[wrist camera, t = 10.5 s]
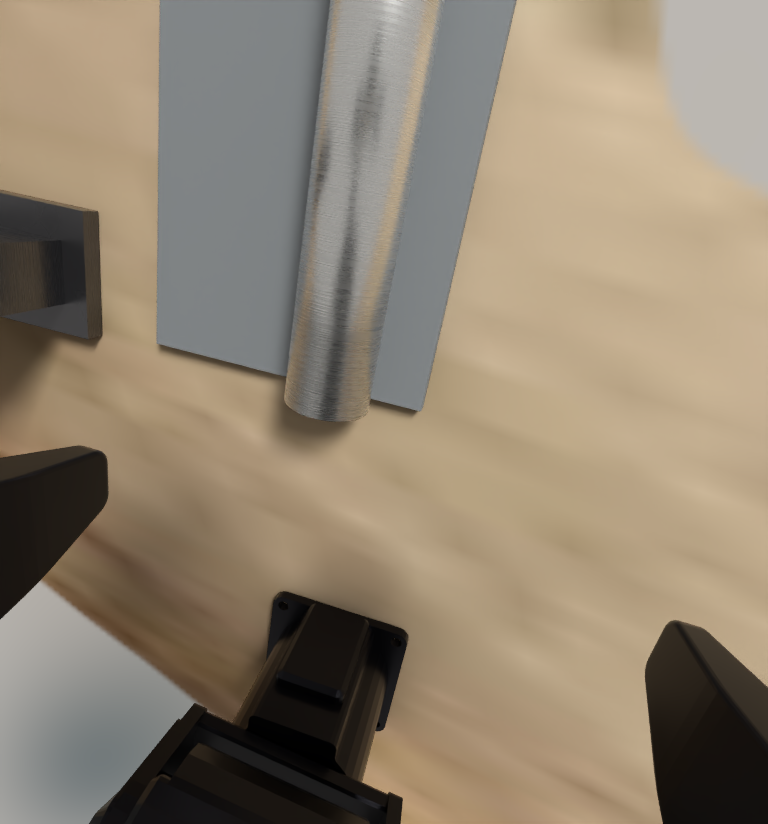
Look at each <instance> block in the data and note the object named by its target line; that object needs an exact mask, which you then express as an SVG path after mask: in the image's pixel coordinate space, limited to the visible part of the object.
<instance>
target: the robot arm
mask: <svg viewBox="0 0 768 824" xmlns="http://www.w3.org/2000/svg"><path fill="white" fill-rule="evenodd" d="M107 499H108V462H107V458H106V455H105V454H104V453H103V452H101V451H99V450H95V449H92V448H88V447H85V446H72V447H66V448H60V449H53V450H47V451H41V452H34V453H28V454H22V455H16V456H9V457H3V458H0V619H1V618H2V617H3V616H4V615H5V614H6V613H8V612H9V611H10V610H11V609H12V608H13V607H14V606H15V605H16V604H17V603H18V602H19V601H20V600H21V599H22V598H23V597H24V596H25V595H26V594H27V593H28V592H29V591H30V590H31V589H32V588H33V587H34V586H35V585H36V584H37V583H38V582H39V581H40V580H41V579H42V578H43V577H44V576H45V575H46V574H47V572H48V571H49V570H50V569H51V568H52V567H53V566H54V565H55V563H56V562H57V561H58V560H59V559H60V558H61V557H62V555H63V554H64V553H65V552H66V551H67V550H68V548H69V547H70V546H71V545H72V544H73V543H74V542H75V540H76V539H77V538H78V537H79V536H80V535H81V534H82V532H83V531H84V530H85V529H86V528H87V527H88V525H89V524H90V523H91V522H92V521H93V520H94V519H95V517H96V516H97V515H98V514H99V513H100V512H101V510H102V509H103V508H104V506H105V504H106V502H107ZM283 602H285V603H287V604H285V603H283ZM394 638H397V639H399V640H396V639H394ZM407 643H408V634H407V633H406V632H405V631H404V630H403V629H401V628H399V627H395V626H392V625H389V624H386V623H383V622H380V621H377V620H374V619H370V618H367V617H364V616H361V615H358V614H355V613H352V612H348V611H345V610H342V609H339V608H336V607H333V606H330V605H327V604H323V603H320V602H317V601H314V600H311V599H308V598H305V597H302V596H298V595H295V594H292V593H289V592H280V593H279V594H278V595H277V597H276V599H275V600H274V603H273V611H272V619H271V626H270V634H269V642H268V650H267V658H266V663H265V664H264V666H263V668H262V670H261V672H260V674H259V675H258V677H257V679H256V681H255V683H254V685H253V686H252V688H251V690H250V692H249V694H248V695H247V697H246V699H245V701H244V703H243V705H242V706H241V708H240V710H239V712H238V714H237V716H236V717H235V719H234V721H233V723H231V722H229V721H226V720H224V719H222V718H220V717H218V716H216V715H213V714H211V713H209V712H207V708H205V707H202V706H200V705H198V704H196V703H194V704H193V706H192V707H191V708H190V709H189V710H188V712H187V713H186V714H185V715H184V717H183V718H182V719H181V720H180V719H178V720H177V721H176V722H175V723H174V725H173V726H172V727H171V728H170V729H169V731H168V732H167V733H166V734H165V736H164V737H163V738H162V739H161V741H160V742H159V743H158V744H157V746H156V747H155V748H154V749H153V750H152V752H151V753H150V754H149V755H148V757H147V758H146V759H145V760H144V761H143V763H142V764H141V765H140V767H139V768H138V769H137V770H136V771H135V773H134V774H133V775H132V776H131V777H130V779H129V780H128V781H127V782H126V784H125V785H124V786H123V787H122V788H121V790H120V791H119V792H118V793H117V794H116V795H114V796H113V797H112V798H111V799H110V800H109V801H108V802H107V803H106V804H105V805H104V806H103V807H102V808H101V809H100V810H98V812H97V813H96V814H95V815H94V817H93V818H92V820H91V821H90V823H89V824H400V823H401V812H402V801H403V798H402V797H399V796H397V795H395V794H393V793H391V792H389V793H388V794H386V793H384V792H382V791H379V790H377V789H375V788H373V787H371V786H369V785H366V784H364V783H362V780H363V776H364V773H365V769H366V765H367V761H368V757H369V753H370V750H371V746H372V742H373V738H374V734H375V731H381V730H383V729H384V728H385V724H386V721H387V717H388V713H389V710H390V706H391V702H392V699H393V695H394V691H395V687H396V684H397V680H398V676H399V673H400V669H401V665H402V661H403V658H404V654H405V650H406V647H407ZM645 683H646V693H647V703H648V713H649V723H650V733H651V743H652V753H653V763H654V773H655V781H656V788H657V795H658V800H659V806H660V811H661V816H662V821H663V824H768V687H767V686H766V685H765V684H763V683H762V682H761V681H760V680H759V679H758V678H757V677H756V676H755V675H754V674H753V673H752V672H751V671H749V670H748V669H747V668H746V667H745V666H744V665H743V664H742V663H741V662H740V661H739V660H738V659H737V658H735V657H734V656H733V655H732V654H731V653H730V652H729V651H728V650H727V649H726V648H725V647H724V646H722V645H721V644H720V643H719V642H718V641H717V640H716V639H715V638H714V637H713V636H712V635H711V634H710V633H708V632H707V631H706V630H705V629H703V628H701V627H698V626H695V625H691V624H688V623H685V622H681V621H678V620H674V621H670V622H669V623H668V624H667V625H666V626H665V628H664V630H663V632H662V634H661V635H660V637H659V639H658V641H657V643H656V645H655V647H654V649H653V651H652V653H651V655H650V657H649V659H648V661H647V664H646V669H645Z"/></svg>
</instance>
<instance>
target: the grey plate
mask: <svg viewBox="0 0 768 824" xmlns="http://www.w3.org/2000/svg"><path fill="white" fill-rule="evenodd" d="M516 1H517V0H445V3H444V8H443V14H442V19H441V24H440V30H439V35H438V40H437V46H436V51H435V56H434V62H433V67H432V72H431V78H430V83H429V88H428V94H427V99H426V104H425V110H424V115H423V120H422V126H421V131H420V136H419V142H418V147H417V152H416V158H415V163H414V169H413V174H412V179H411V185H410V190H409V195H408V201H407V206H406V211H405V217H404V222H403V227H402V233H401V238H400V243H399V249H398V254H397V259H396V265H395V270H394V275H393V281H392V286H391V291H390V297H389V302H388V307H387V313H386V318H385V323H384V329H383V334H382V339H381V345H380V350H379V355H378V361H377V366H376V371H375V377H374V382H373V388H372V393H371V398H370V399H374V400H378V401H382V402H386V403H390V404H393V405H397V406H401V407H405V408H409V409H413V410H417V411H421V410H422V408H423V405H424V401H425V396H426V392H427V388H428V383H429V379H430V374H431V370H432V366H433V361H434V357H435V353H436V348H437V344H438V340H439V335H440V331H441V327H442V322H443V318H444V314H445V309H446V305H447V301H448V296H449V292H450V288H451V283H452V279H453V274H454V270H455V266H456V261H457V257H458V253H459V248H460V244H461V240H462V235H463V231H464V227H465V222H466V218H467V214H468V209H469V205H470V201H471V196H472V192H473V188H474V183H475V179H476V174H477V170H478V166H479V161H480V157H481V153H482V148H483V144H484V140H485V135H486V131H487V127H488V122H489V118H490V114H491V109H492V105H493V101H494V96H495V92H496V88H497V83H498V79H499V74H500V70H501V66H502V61H503V57H504V53H505V48H506V44H507V40H508V35H509V31H510V27H511V22H512V18H513V14H514V9H515V5H516ZM329 8H330V0H160V44H159V149H158V254H157V344H160V345H164V346H168V347H172V348H176V349H180V350H184V351H188V352H192V353H195V354H199V355H203V356H207V357H211V358H215V359H219V360H223V361H227V362H230V363H234V364H238V365H242V366H246V367H250V368H254V369H258V370H261V371H265V372H269V373H273V374H277V375H281V376H285V377H287V369H288V360H289V351H290V343H291V334H292V326H293V317H294V308H295V300H296V291H297V283H298V274H299V265H300V257H301V248H302V240H303V231H304V222H305V214H306V205H307V197H308V188H309V179H310V171H311V162H312V154H313V145H314V137H315V128H316V119H317V111H318V102H319V94H320V85H321V76H322V68H323V59H324V51H325V42H326V33H327V25H328V16H329Z"/></svg>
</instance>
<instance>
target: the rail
mask: <svg viewBox="0 0 768 824" xmlns="http://www.w3.org/2000/svg"><path fill="white" fill-rule="evenodd" d="M444 3H445V0H330V8H329V16H328V25H327V33H326V42H325V51H324V59H323V68H322V76H321V85H320V94H319V102H318V111H317V119H316V128H315V137H314V145H313V154H312V162H311V171H310V179H309V188H308V197H307V205H306V214H305V222H304V231H303V240H302V248H301V257H300V265H299V274H298V283H297V291H296V300H295V308H294V317H293V326H292V334H291V343H290V351H289V360H288V369H287V377H286V386H285V394H284V401H285V403H286V405H287V406H288V407H289V408H290V409H292V410H293V411H295V412H297V413H299V414H301V415H304V416H307V417H310V418H313V419H318V420H323V421H332V422H346V421H353V420H357V419H360V418H362V417H364V416H365V415H366V414H367V413H368V409H369V404H370V398H371V393H372V388H373V382H374V377H375V371H376V366H377V361H378V355H379V350H380V345H381V339H382V334H383V329H384V323H385V318H386V313H387V307H388V302H389V297H390V291H391V286H392V281H393V275H394V270H395V265H396V259H397V254H398V249H399V243H400V238H401V233H402V227H403V222H404V217H405V211H406V206H407V201H408V195H409V190H410V185H411V179H412V174H413V169H414V163H415V158H416V152H417V147H418V142H419V136H420V131H421V126H422V120H423V115H424V110H425V104H426V99H427V94H428V88H429V83H430V78H431V72H432V67H433V62H434V56H435V51H436V46H437V40H438V35H439V30H440V24H441V19H442V14H443V8H444Z"/></svg>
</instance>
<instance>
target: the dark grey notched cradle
mask: <svg viewBox="0 0 768 824" xmlns="http://www.w3.org/2000/svg"><path fill="white" fill-rule="evenodd" d="M0 317H5V318H8V319H12V320H16V321H20V322H24V323H27V324H31V325H35V326H39V327H43V328H47V329H50V330H54V331H58V332H62V333H66V334H69V335H73V336H77V337H81V338H85V339H91V338H95V337H98V336H102V315H101V284H100V254H99V224H98V211H94V210H90V209H85V208H81V207H76V206H72V205H67V204H63V203H58V202H54V201H49V200H45V199H40V198H35V197H31V196H26V195H22V194H17V193H13V192H8V191H4V190H0Z"/></svg>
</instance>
